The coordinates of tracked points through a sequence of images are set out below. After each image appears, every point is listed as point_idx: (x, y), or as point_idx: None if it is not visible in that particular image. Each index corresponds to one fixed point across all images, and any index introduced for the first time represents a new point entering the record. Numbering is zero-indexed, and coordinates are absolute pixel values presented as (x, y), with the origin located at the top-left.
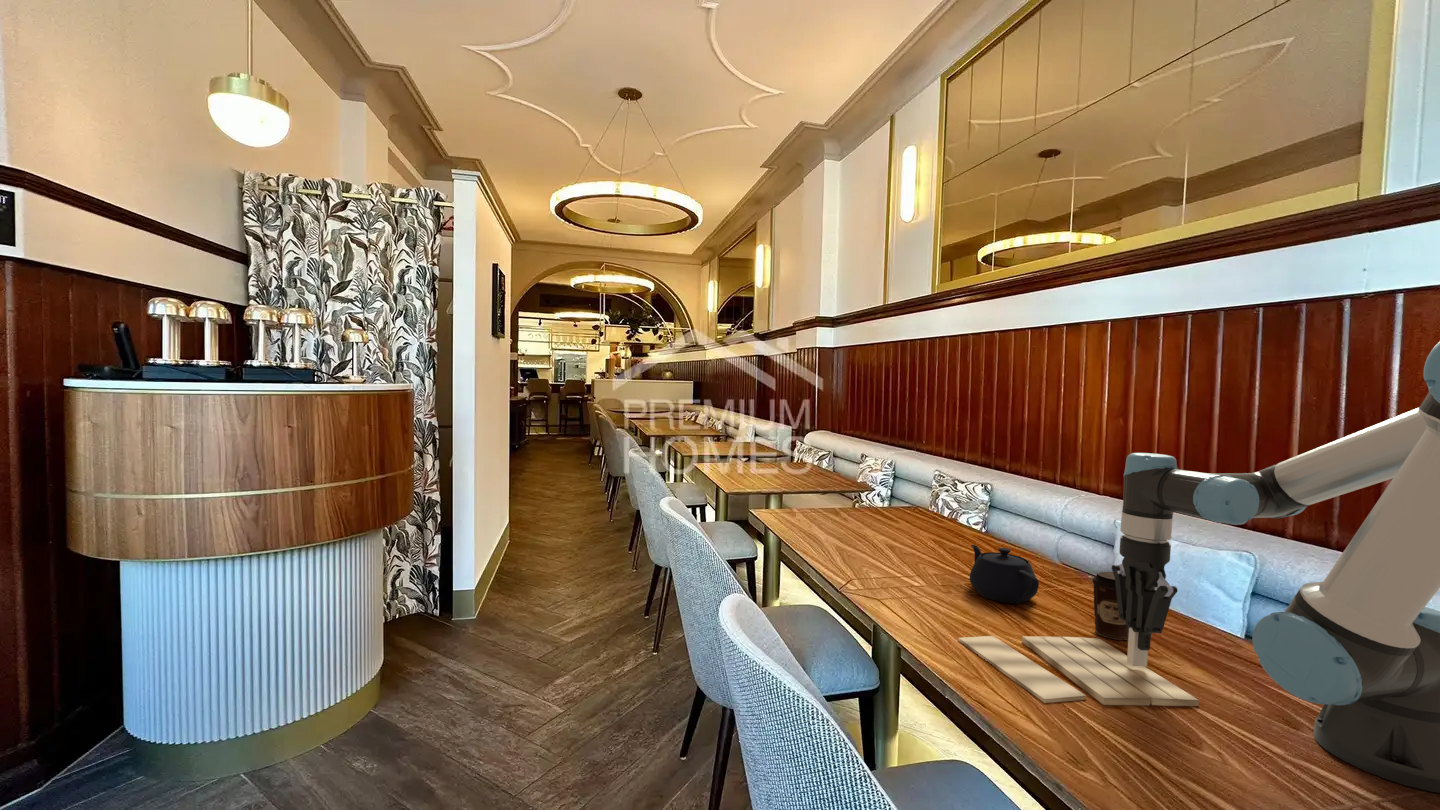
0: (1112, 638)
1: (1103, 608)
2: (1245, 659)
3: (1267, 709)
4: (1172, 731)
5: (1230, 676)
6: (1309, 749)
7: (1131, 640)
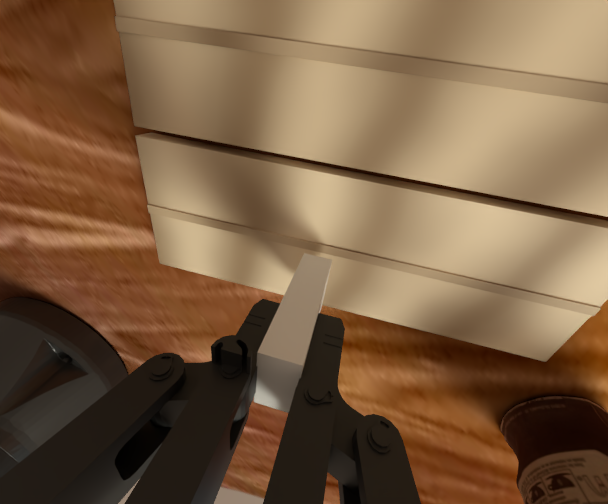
0: (529, 401)
1: None
2: None
3: None
4: (19, 52)
5: None
6: (56, 289)
7: (295, 313)
